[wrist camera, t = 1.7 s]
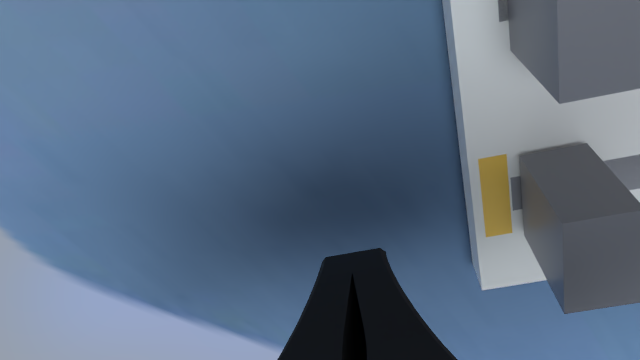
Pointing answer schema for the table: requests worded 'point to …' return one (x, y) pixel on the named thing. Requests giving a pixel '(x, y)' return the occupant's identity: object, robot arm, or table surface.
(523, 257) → the breaker panel
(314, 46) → the table surface
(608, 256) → the handle
